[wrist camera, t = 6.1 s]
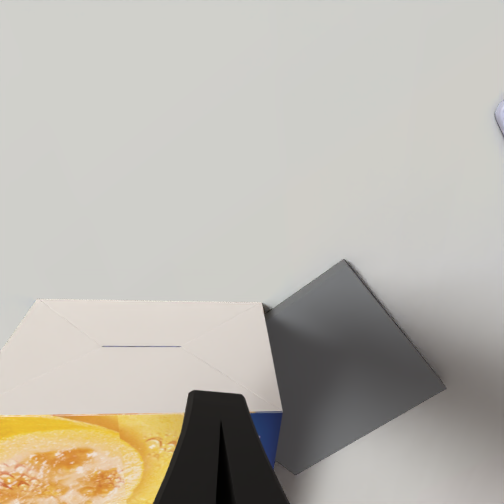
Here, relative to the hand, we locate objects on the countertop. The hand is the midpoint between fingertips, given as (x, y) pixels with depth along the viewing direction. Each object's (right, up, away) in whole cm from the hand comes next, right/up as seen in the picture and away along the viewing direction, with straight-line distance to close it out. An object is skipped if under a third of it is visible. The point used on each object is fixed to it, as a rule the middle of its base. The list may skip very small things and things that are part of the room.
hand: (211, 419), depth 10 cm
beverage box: (-3, +1, +6) cm, 7 cm away
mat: (+5, -3, +13) cm, 14 cm away
